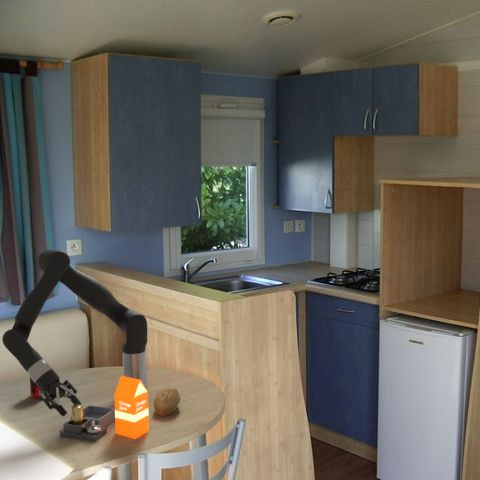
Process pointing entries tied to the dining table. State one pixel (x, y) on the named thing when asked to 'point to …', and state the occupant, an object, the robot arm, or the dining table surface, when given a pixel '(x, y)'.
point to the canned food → (35, 390)
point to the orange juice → (131, 408)
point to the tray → (99, 414)
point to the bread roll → (166, 401)
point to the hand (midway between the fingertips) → (72, 410)
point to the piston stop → (77, 415)
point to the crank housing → (83, 431)
